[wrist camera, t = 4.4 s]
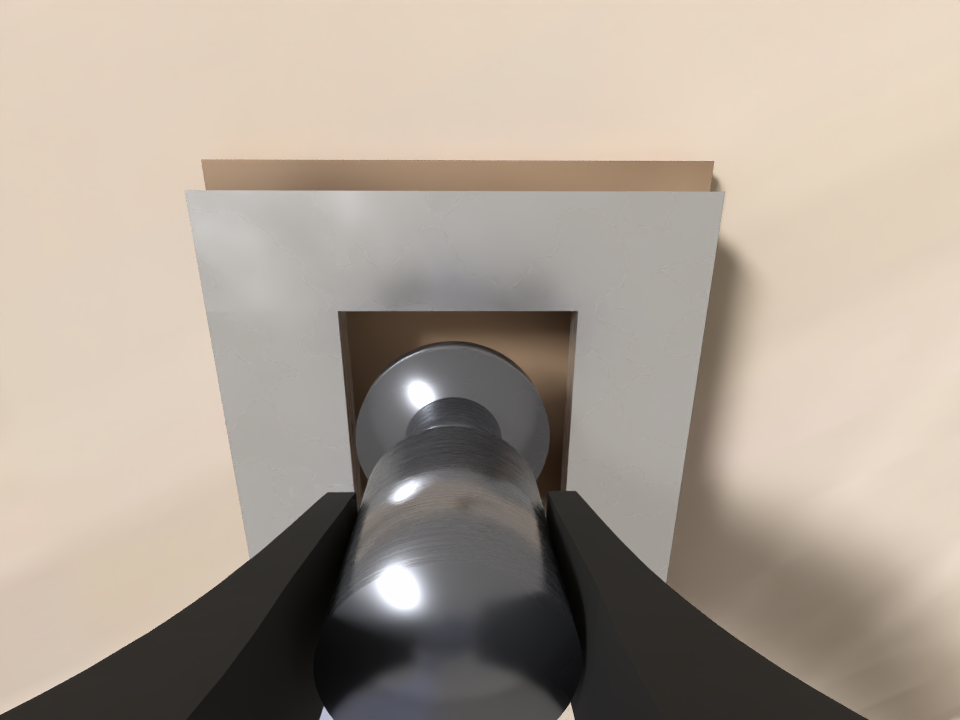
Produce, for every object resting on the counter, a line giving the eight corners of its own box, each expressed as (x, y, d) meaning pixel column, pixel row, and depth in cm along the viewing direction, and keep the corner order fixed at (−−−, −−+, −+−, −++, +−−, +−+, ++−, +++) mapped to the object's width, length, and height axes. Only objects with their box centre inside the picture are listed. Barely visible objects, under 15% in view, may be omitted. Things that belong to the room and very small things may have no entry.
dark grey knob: (540, 505, 16) (614, 789, 8) (366, 508, 16) (281, 803, 8) (550, 340, 14) (657, 510, 7) (354, 340, 14) (228, 517, 6)
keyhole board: (638, 634, 24) (644, 652, 23) (290, 637, 24) (282, 655, 23) (700, 163, 17) (714, 161, 16) (216, 161, 17) (200, 159, 16)
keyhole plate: (625, 636, 23) (648, 701, 20) (301, 639, 23) (275, 705, 20) (680, 192, 17) (725, 191, 14) (236, 191, 16) (184, 190, 13)
